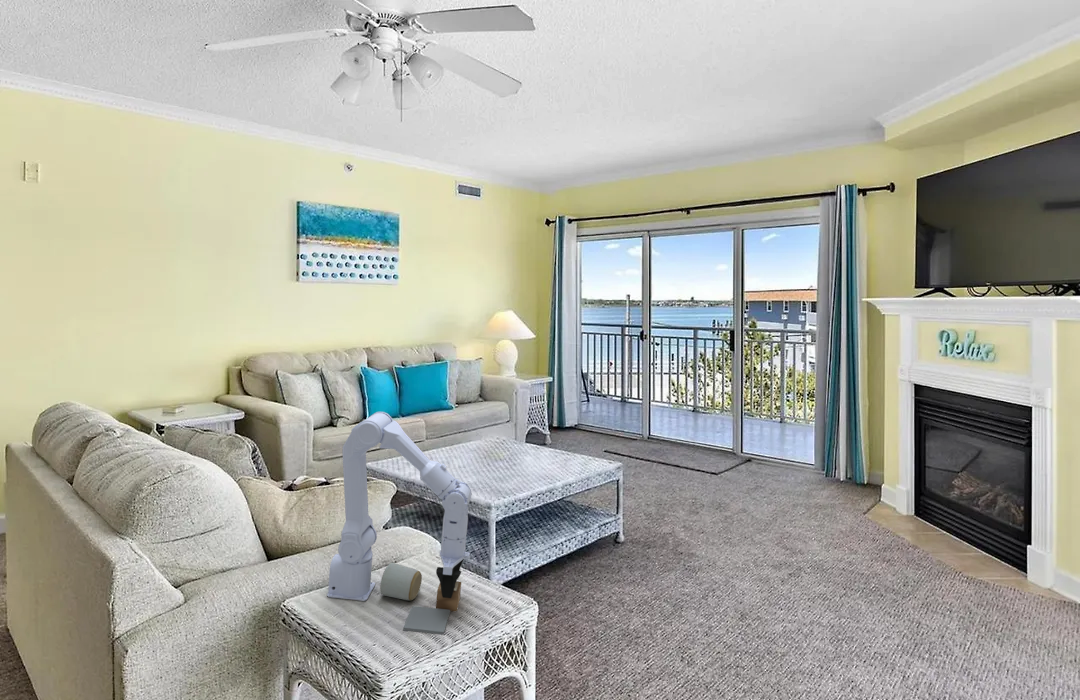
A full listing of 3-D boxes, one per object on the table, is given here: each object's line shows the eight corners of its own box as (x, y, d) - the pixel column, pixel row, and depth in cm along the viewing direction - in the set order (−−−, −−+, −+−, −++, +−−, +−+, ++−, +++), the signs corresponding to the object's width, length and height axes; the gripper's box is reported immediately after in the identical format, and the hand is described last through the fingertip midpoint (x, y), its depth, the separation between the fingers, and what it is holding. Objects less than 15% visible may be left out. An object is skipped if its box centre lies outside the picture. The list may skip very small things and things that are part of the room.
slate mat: (403, 630, 138) (403, 627, 138) (412, 608, 147) (412, 605, 147) (443, 634, 138) (443, 631, 138) (450, 612, 147) (450, 609, 147)
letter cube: (435, 609, 147) (437, 588, 147) (439, 598, 152) (441, 578, 152) (456, 612, 147) (458, 591, 147) (459, 601, 152) (461, 580, 152)
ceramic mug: (410, 607, 147) (413, 576, 146) (378, 600, 149) (380, 570, 148) (426, 586, 158) (429, 557, 157) (396, 580, 159) (398, 551, 158)
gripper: (467, 550, 140) (462, 606, 142) (474, 524, 155) (470, 575, 157) (435, 547, 140) (431, 603, 142) (446, 521, 155) (442, 572, 157)
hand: (449, 588), depth 149 cm, fingers open, 7 cm apart
